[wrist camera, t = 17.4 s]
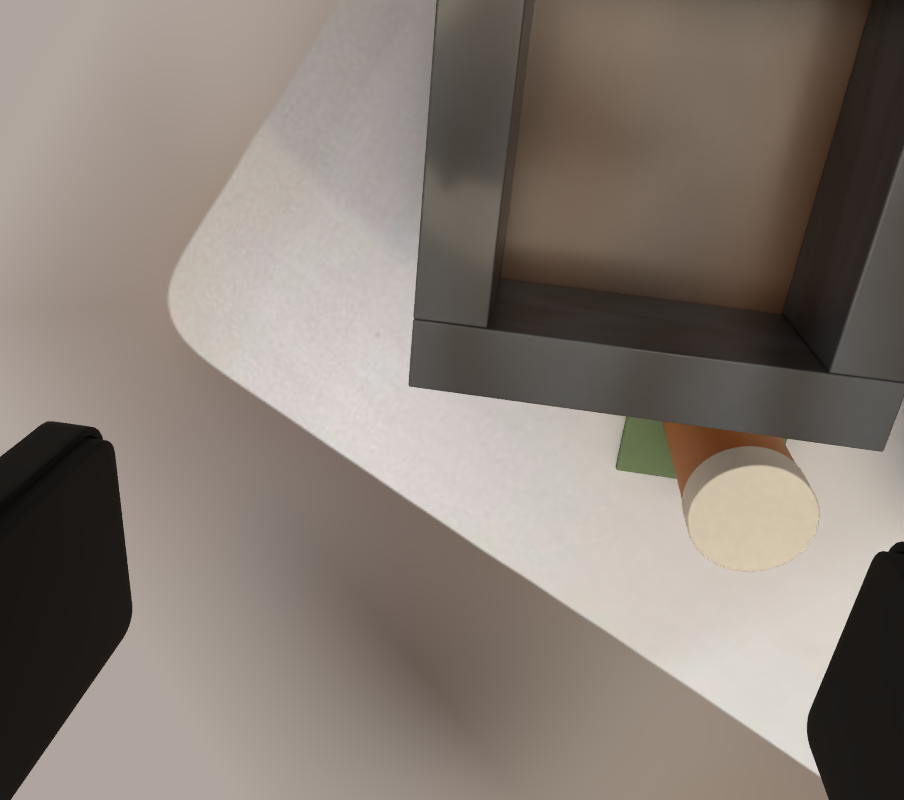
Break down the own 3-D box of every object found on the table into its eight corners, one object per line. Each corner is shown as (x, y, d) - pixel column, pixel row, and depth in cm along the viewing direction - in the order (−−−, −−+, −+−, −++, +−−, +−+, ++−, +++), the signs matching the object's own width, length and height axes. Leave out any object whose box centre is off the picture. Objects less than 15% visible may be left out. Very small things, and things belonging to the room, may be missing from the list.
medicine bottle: (651, 450, 51) (675, 562, 40) (671, 362, 48) (703, 456, 37) (748, 463, 50) (799, 580, 39) (774, 375, 47) (836, 475, 37)
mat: (615, 466, 52) (616, 470, 52) (645, 325, 48) (646, 328, 47) (768, 488, 51) (770, 492, 51) (812, 347, 47) (815, 350, 46)
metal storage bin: (474, 239, 47) (408, 387, 27) (506, -70, 40) (448, -174, 20) (745, 272, 46) (883, 452, 26) (826, -40, 39) (1101, -122, 19)
